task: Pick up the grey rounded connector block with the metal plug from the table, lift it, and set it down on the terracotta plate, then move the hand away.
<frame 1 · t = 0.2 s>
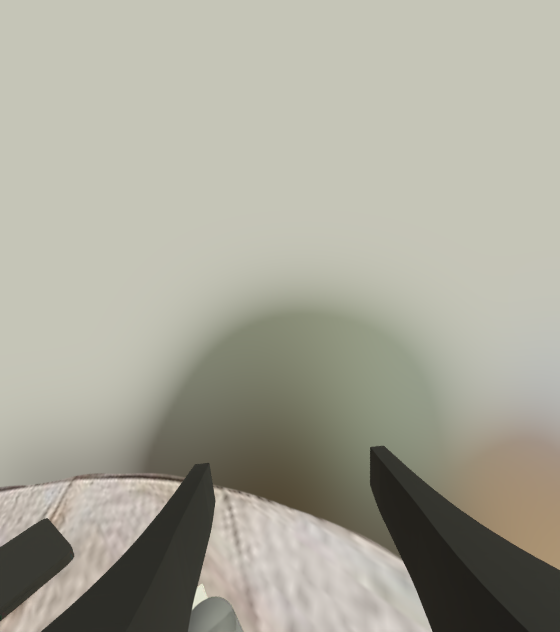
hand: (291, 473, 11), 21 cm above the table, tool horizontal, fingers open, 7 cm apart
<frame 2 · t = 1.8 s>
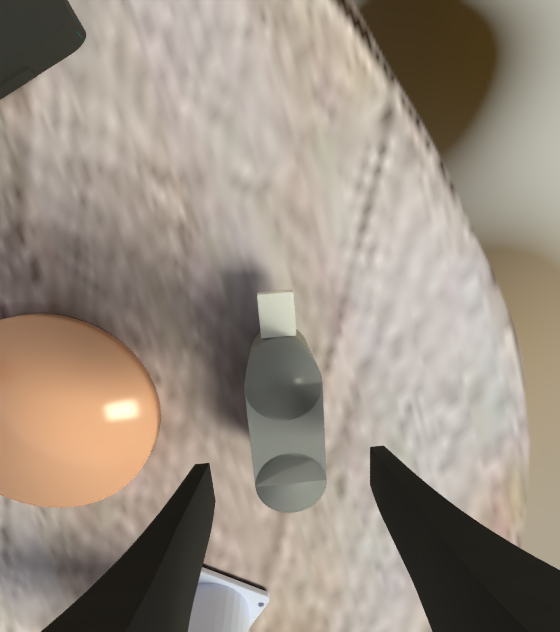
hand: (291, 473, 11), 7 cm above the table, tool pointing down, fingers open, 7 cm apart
plate: (58, 410, 18), on the table
connector: (282, 390, 19), on the table
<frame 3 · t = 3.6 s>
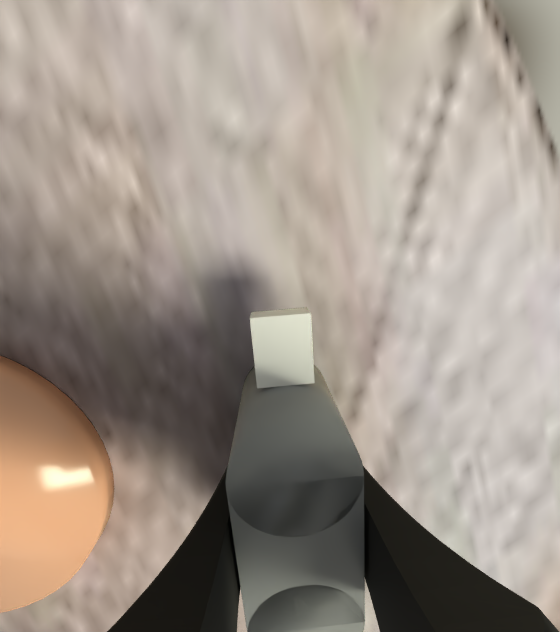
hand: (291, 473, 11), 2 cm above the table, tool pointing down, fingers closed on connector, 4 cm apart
connector: (288, 447, 13), on the table, touching gripper
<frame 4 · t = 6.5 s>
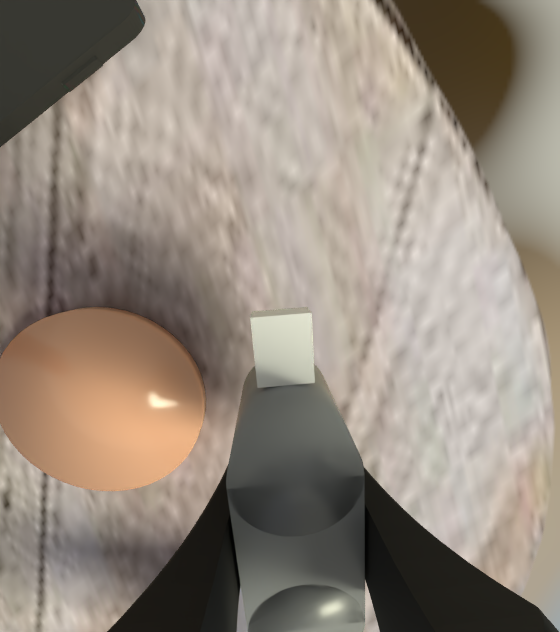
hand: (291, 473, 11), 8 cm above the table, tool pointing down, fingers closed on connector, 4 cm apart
plate: (110, 399, 19), on the table
connector: (289, 447, 13), point 7 cm above the table, touching gripper
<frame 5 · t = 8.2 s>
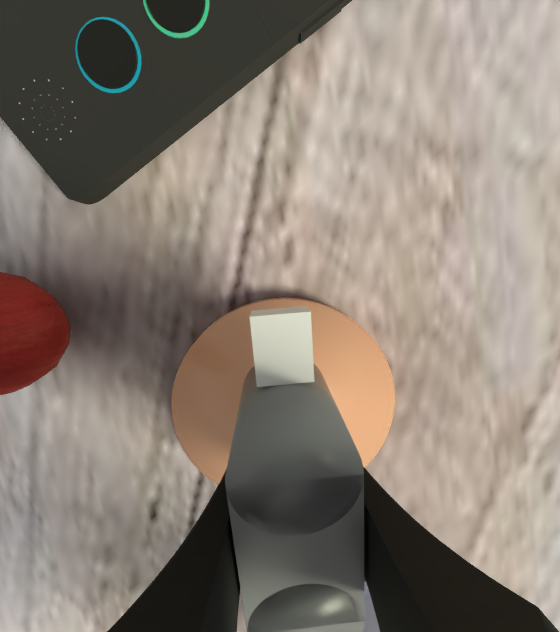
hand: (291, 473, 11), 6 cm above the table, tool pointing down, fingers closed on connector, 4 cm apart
plate: (283, 400, 17), on the table
onion: (55, 315, 16), on the table
connector: (288, 446, 13), point 4 cm above the table, touching gripper
smart home device: (187, 27, 13), on the table
when the fingers open (4 cm above the table, at t = 9.4 s): connector drops 1 cm, resting on plate.
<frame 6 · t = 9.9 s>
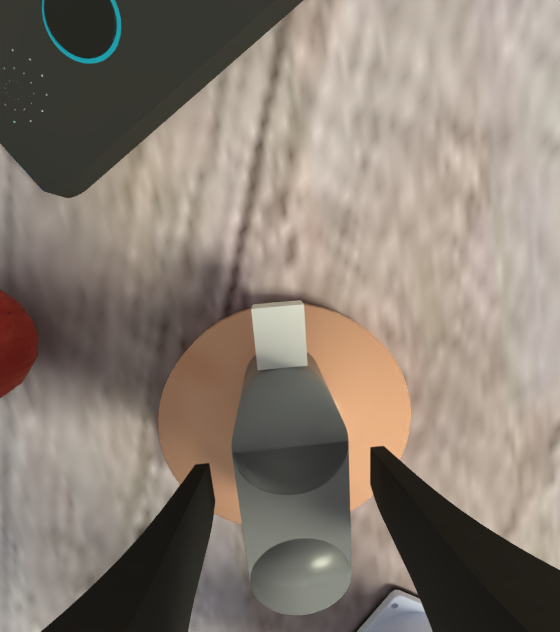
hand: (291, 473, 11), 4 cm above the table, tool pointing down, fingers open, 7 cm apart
plate: (285, 416, 15), on the table
onion: (26, 322, 14), on the table
connector: (286, 429, 14), point 1 cm above the table, touching plate
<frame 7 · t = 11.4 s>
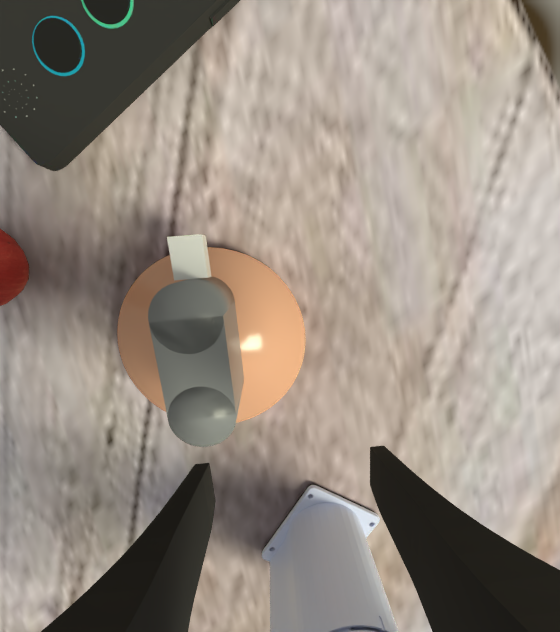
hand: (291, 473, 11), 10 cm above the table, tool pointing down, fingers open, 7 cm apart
plate: (216, 338, 21), on the table
onion: (21, 262, 19), on the table
connector: (212, 342, 19), point 1 cm above the table, touching plate
smart home device: (123, 20, 16), on the table
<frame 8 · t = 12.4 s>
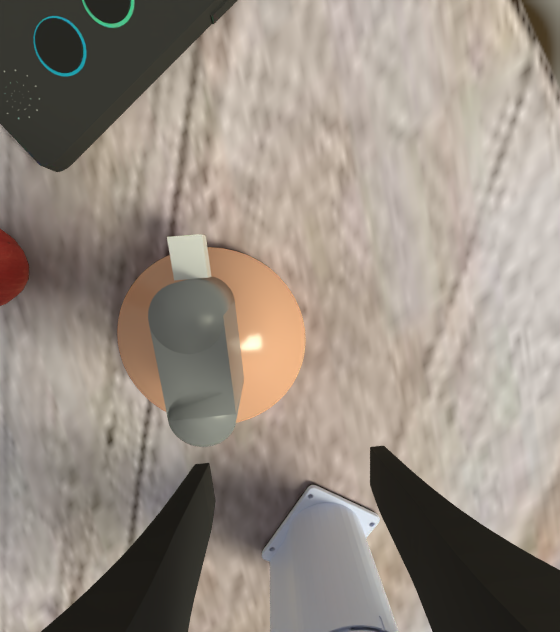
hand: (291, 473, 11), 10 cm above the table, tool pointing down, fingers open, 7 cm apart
plate: (216, 338, 21), on the table
onion: (21, 262, 19), on the table
connector: (212, 342, 19), point 1 cm above the table, touching plate
smart home device: (123, 19, 16), on the table
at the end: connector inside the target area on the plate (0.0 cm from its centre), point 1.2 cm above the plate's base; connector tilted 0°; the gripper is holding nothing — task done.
